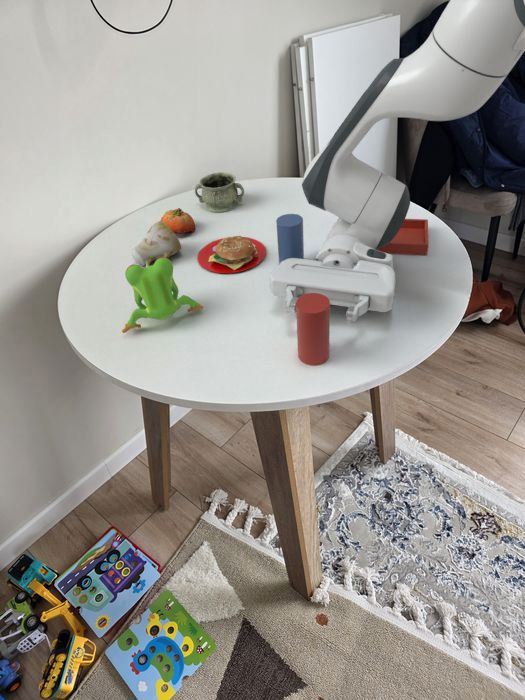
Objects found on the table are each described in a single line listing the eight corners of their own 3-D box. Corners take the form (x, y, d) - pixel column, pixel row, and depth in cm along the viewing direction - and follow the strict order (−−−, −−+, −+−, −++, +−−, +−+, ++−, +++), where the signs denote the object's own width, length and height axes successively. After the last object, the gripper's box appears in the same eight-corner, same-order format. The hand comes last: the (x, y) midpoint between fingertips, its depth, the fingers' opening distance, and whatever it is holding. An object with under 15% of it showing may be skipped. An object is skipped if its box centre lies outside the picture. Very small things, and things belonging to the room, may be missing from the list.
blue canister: (306, 261, 96) (305, 214, 89) (301, 275, 92) (300, 226, 85) (282, 260, 97) (279, 213, 90) (277, 273, 93) (273, 225, 87)
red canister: (331, 345, 77) (332, 294, 70) (326, 366, 73) (327, 314, 67) (300, 343, 78) (299, 291, 71) (295, 363, 74) (293, 311, 68)
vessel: (248, 196, 119) (246, 171, 115) (242, 213, 113) (239, 187, 109) (201, 197, 121) (197, 172, 117) (192, 213, 115) (187, 188, 111)
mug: (125, 263, 101) (131, 214, 98) (170, 268, 106) (177, 222, 103) (135, 271, 95) (142, 218, 92) (182, 276, 100) (190, 227, 97)
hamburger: (279, 247, 100) (277, 220, 96) (239, 281, 92) (236, 254, 88) (224, 232, 107) (221, 207, 103) (183, 263, 98) (177, 237, 94)
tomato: (193, 233, 104) (168, 208, 102) (173, 253, 108) (148, 229, 106) (203, 221, 111) (179, 197, 109) (184, 240, 114) (161, 217, 112)
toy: (193, 291, 91) (183, 244, 84) (207, 318, 85) (197, 268, 78) (116, 314, 88) (100, 266, 81) (125, 343, 81) (108, 294, 75)
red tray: (426, 229, 101) (427, 219, 99) (426, 255, 94) (428, 244, 92) (376, 227, 103) (376, 217, 102) (372, 252, 96) (373, 242, 94)
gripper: (282, 242, 85) (254, 287, 75) (402, 256, 79) (388, 306, 69) (284, 273, 89) (258, 319, 80) (398, 288, 83) (385, 340, 73)
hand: (320, 313), depth 74 cm, fingers open, 8 cm apart
